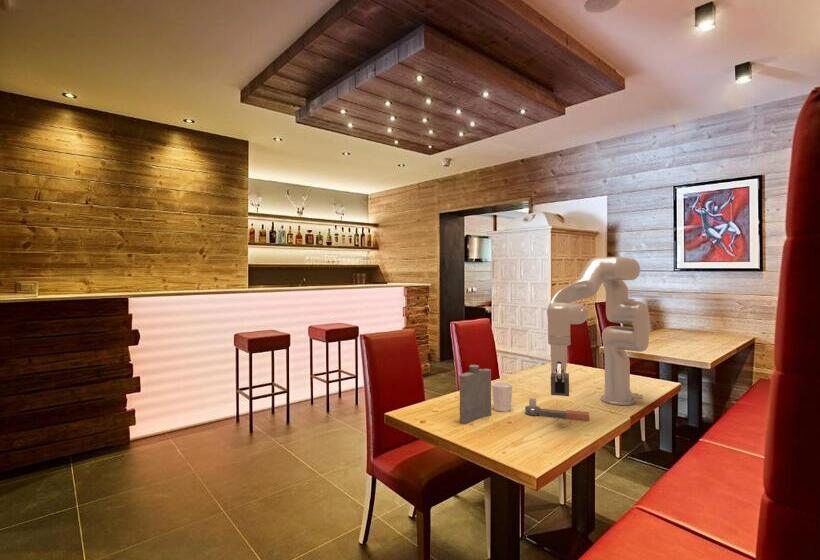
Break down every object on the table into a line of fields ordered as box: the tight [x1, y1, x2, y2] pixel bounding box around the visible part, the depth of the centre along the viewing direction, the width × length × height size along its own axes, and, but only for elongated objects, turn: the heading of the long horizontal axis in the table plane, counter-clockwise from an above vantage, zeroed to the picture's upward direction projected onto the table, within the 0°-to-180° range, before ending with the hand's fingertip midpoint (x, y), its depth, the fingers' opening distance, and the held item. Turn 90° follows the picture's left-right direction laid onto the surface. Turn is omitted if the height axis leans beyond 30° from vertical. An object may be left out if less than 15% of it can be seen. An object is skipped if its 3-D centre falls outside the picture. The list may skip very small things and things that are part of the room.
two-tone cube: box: [550, 372, 570, 397], centre depth 149 cm, size 6×6×6 cm
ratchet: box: [524, 397, 590, 422], centre depth 158 cm, size 23×6×6 cm, turn 69°
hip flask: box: [458, 364, 492, 425], centre depth 157 cm, size 16×4×20 cm, turn 129°
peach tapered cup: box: [491, 381, 513, 412], centre depth 168 cm, size 8×8×10 cm
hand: (560, 389), depth 149 cm, fingers closed on two-tone cube, 6 cm apart
